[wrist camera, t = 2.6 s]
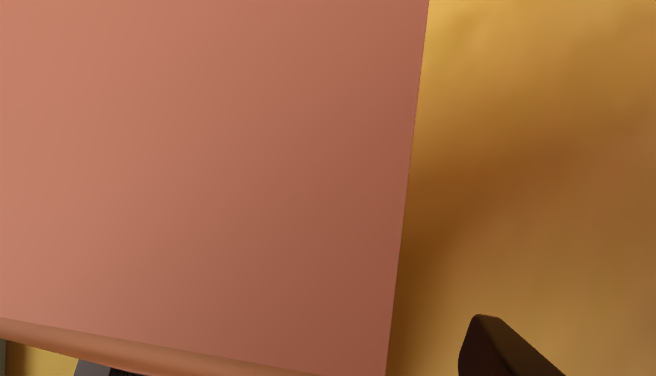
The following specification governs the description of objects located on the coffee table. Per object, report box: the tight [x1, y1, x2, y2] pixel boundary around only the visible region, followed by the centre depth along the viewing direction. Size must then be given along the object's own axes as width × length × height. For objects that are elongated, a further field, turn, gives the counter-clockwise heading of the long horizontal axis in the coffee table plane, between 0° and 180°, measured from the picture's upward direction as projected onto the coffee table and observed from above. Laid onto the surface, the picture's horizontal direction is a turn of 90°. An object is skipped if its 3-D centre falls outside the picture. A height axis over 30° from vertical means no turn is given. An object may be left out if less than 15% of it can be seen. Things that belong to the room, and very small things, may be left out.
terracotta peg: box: [0, 0, 429, 376], centre depth 11 cm, size 4×4×13 cm
